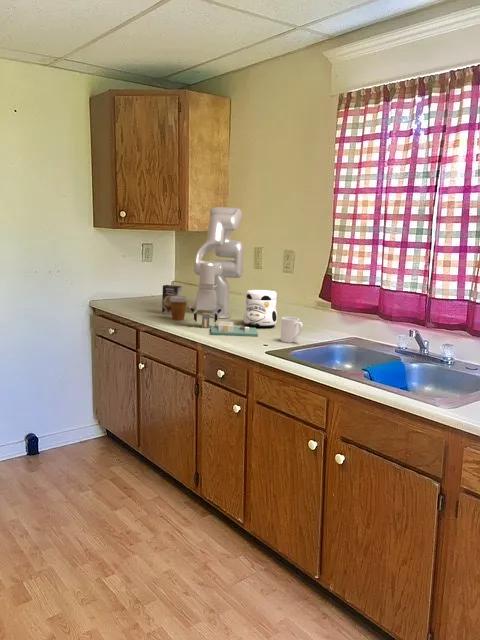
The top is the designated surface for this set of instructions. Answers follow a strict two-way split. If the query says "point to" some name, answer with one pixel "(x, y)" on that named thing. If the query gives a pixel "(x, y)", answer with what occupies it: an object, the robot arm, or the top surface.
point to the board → (232, 330)
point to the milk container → (260, 308)
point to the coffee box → (167, 293)
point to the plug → (205, 320)
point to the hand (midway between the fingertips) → (205, 321)
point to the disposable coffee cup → (178, 307)
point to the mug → (290, 329)
